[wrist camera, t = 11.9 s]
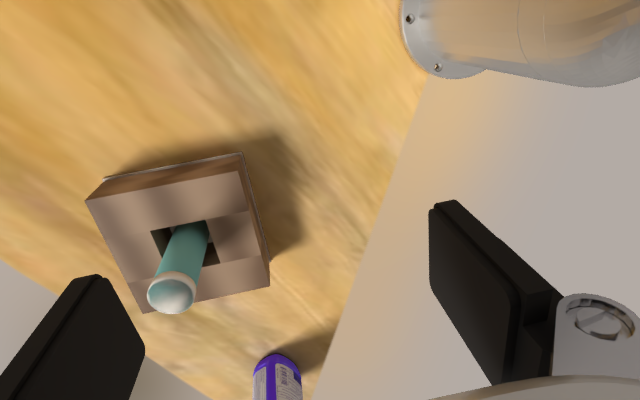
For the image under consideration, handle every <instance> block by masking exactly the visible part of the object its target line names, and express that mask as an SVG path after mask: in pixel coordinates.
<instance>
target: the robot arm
mask: <svg viewBox="0 0 640 400" xmlns="http://www.w3.org/2000/svg"><path fill="white" fill-rule="evenodd" d="M407 16H408V17H409V21H408V22H406V17H407ZM399 27H400V33H401V38H402V41H403V43H404V46H405V49H406V50H407V52H408V54H409V55H410V57H411V59H412V60H413V61H414V62H415V63H416V64H417V65H418V66H419V67H420V68H422V69H423V70H425V71H426V72H428V73H430V74H432V75H435V76H438V77H442V78H446V79H461V78H466V77H470V76H473V75H476V74H478V73H481V72H482V71H484V70H486V69H488V70H493V71H498V72H503V73H508V74H513V75H518V76H523V77H528V78H533V79H538V80H543V81H549V82H555V83H560V84H565V85H571V86H578V87H604V86H605V87H606V86H611V85H616V84H620V83H624V82H627V81H630V80H633V79H636V78H638V77H640V0H400V6H399ZM435 65H437V67H436V69H434V67H435ZM428 215H429V280H430V286H431V289H432V291H433V293H434V295H435V296H436V297H437V299H438V301H439V302H440V304H441V306H442V307H443V309H444V310H445V312H446V313H447V315H448V317H449V318H450V320H451V321H452V323H453V324H454V326H455V328H456V329H457V331H458V332H459V334H460V336H461V337H462V339H463V340H464V342H465V343H466V345H467V347H468V348H469V350H470V351H471V353H472V355H473V356H474V358H475V359H476V361H477V362H478V364H479V365H480V367H481V369H482V370H483V372H484V373H485V375H486V377H487V378H488V380H489V381H490V383H491V384H492V386H489V387H484V388H480V389H475V390H471V391H466V392H461V393H456V394H452V395H447V396H442V397H438V398H434V399H429V400H640V319H639V318H638V316H637V315H636V314H635V313H634V312H633V311H631V310H630V309H628V308H627V307H625V306H624V305H622V304H620V303H618V302H616V301H614V300H612V299H609V298H606V297H602V296H599V295H593V294H586V293H582V294H572V295H569V296H566V297H564V296H562V295H561V294H560V293H559V292H558V291H557V290H556V289H555V288H554V287H552V286H551V285H550V284H549V283H548V282H547V281H546V280H545V279H544V278H543V277H541V276H540V275H539V274H538V273H537V272H536V271H535V270H534V269H533V268H532V267H531V266H529V265H528V264H527V263H526V262H525V261H524V260H523V259H522V258H521V257H519V256H518V255H517V254H516V253H515V252H514V251H513V250H512V249H511V248H510V247H508V246H507V245H506V244H505V243H504V242H503V241H502V240H500V239H499V238H497V237H496V236H495V235H494V234H493V233H492V232H491V231H489V230H488V229H487V228H486V227H485V226H484V225H483V224H482V223H481V222H480V221H478V220H477V219H476V218H475V217H474V216H473V215H472V214H471V213H470V212H469V211H468V210H466V209H465V208H464V207H463V206H462V205H461V204H460V203H459V202H458V201H456V200H449V201H445V202H440V203H436V204H435V205H434V209H430V210H429V214H428ZM144 356H145V346H144V343H143V341H142V339H141V337H140V336H139V334H138V332H137V330H136V328H135V326H134V325H133V323H132V321H131V319H130V317H129V315H128V314H127V312H126V310H125V308H124V306H123V305H122V303H121V301H120V299H119V297H118V295H117V294H116V292H115V290H114V288H113V286H112V284H111V283H110V281H109V280H108V279H107V278H102V276H100V275H99V274H94V275H89V276H84V277H79V278H75V279H73V280H72V281H71V282H70V284H69V285H68V286H67V288H66V289H65V290H64V292H63V293H62V294H61V296H60V297H59V298H58V300H57V301H56V302H55V304H54V305H53V306H52V308H51V309H50V310H49V312H48V313H47V314H46V316H45V317H44V318H43V320H42V321H41V322H40V324H39V325H38V326H37V328H36V329H35V330H34V332H33V333H32V334H31V336H30V337H29V338H28V340H27V341H26V342H25V344H24V345H23V346H22V348H21V349H20V350H19V352H18V353H17V354H16V356H15V357H14V358H13V360H12V361H11V362H10V364H9V365H8V366H7V368H6V369H5V370H4V372H3V373H2V374H1V375H0V400H129V397H130V395H131V392H132V389H133V387H134V384H135V381H136V378H137V376H138V373H139V370H140V367H141V364H142V362H143V359H144Z"/></svg>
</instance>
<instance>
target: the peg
mask: <svg viewBox="0 0 640 400" xmlns="http://www.w3.org/2000/svg"><path fill="white" fill-rule="evenodd" d="M209 235H210V231H209V229H208V226H207V223H206V220H201V221H196V222H191V223H186V224H181V225H176V227H175V230H174V232H173V235H172V237H171V239H170V242H169V244H168V246H167V249H166V251H165V253H164V256H163V258H162V260H161V263H160V265H159V267H158V270H157V272H156V274H155V277H154V279H153V280H152V282H151V284H150V287H149V289H148V292H147V299H148V302H149V304H150V305H151V306H152V307H153V308H154V309H156V310H158V311H160V312H162V313H166V314H177V313H181V312H184V311H186V310H187V309H189V308H190V307H191V306H192V304H193V302H194V299H195V294H196V288H197V284H198V280H199V276H200V272H201V268H202V264H203V260H204V256H205V252H206V248H207V243H208V239H209Z"/></svg>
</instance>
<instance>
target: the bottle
mask: <svg viewBox="0 0 640 400" xmlns="http://www.w3.org/2000/svg"><path fill="white" fill-rule="evenodd" d="M253 400H303V395H302V385H301V376H300V373H299V370H298V369H297V367H296V366H295V364H294V363H293V362H292V361H291V360H289V359H288V358H286V357H284V356H282V355H279V354H274V355H270V356H268V357H266V358H265V359H263V360H261V361H260V362H259V363H258V364H257V366H256V367H255V370H254V373H253Z"/></svg>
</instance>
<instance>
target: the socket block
mask: <svg viewBox="0 0 640 400" xmlns="http://www.w3.org/2000/svg"><path fill="white" fill-rule="evenodd" d="M102 180H103V183H102V184H101V185H100V186H99V187H98V188H97V189H96V190H95V191H94V192H93V193H92V194H91V195H90V196H89V197H88V198H87V199H86V200H85V203H86V205H87V207H88V209H89V211H90V213H91V215H92V216H93V218H94V220H95V222H96V224H97V226H98V228H99V230H100V232H101V234H102V236H103V238H104V240H105V242H106V244H107V246H108V247H109V249H110V251H111V253H112V255H113V257H114V259H115V261H116V263H117V265H118V267H119V269H120V271H121V273H122V275H123V277H124V279H125V280H126V282H127V284H128V286H129V288H130V290H131V292H132V294H133V296H134V298H135V300H136V302H137V304H138V306H139V308H140V310H141V311H142V313H143V314H144V313H149V312H153V311H158V310H156V309H154V308H153V307H152V306H151V305H150V304H149V302H148V299H147V292H148V289H149V287H150V284H151V282H152V280H153V279H154V277H155V274H156V272H157V270H158V267H159V265H160V263H161V260H162V258H163V256H164V253H165V251H166V249H167V246H168V244H169V242H170V239H171V237H172V235H173V232H174V230H175V227H176V225H181V224H186V223H191V222H196V221H201V220H206V223H207V226H208V229H209V231H210V235H209V239H208V243H207V248H206V252H205V256H204V260H203V264H202V268H201V272H200V276H199V280H198V284H197V288H196V294H195V299H194V302H193V303H195V302H200V301H204V300H209V299H213V298H218V297H223V296H227V295H232V294H237V293H241V292H246V291H250V290H255V289H260V288H264V287H269V286H270V271H269V263H270V262H271V259H270V255H269V251H268V247H267V243H266V240H265V236H264V232H263V228H262V225H261V221H260V217H259V213H258V210H257V206H256V202H255V198H254V195H253V191H252V187H251V183H250V179H249V176H248V172H247V168H246V164H245V161H244V157H243V153H242V152H237V153H232V154H226V155H221V156H216V157H211V158H206V159H200V160H195V161H190V162H185V163H179V164H174V165H169V166H164V167H159V168H153V169H148V170H143V171H138V172H133V173H127V174H122V175H117V176H112V177H107V178H103V179H102Z"/></svg>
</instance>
